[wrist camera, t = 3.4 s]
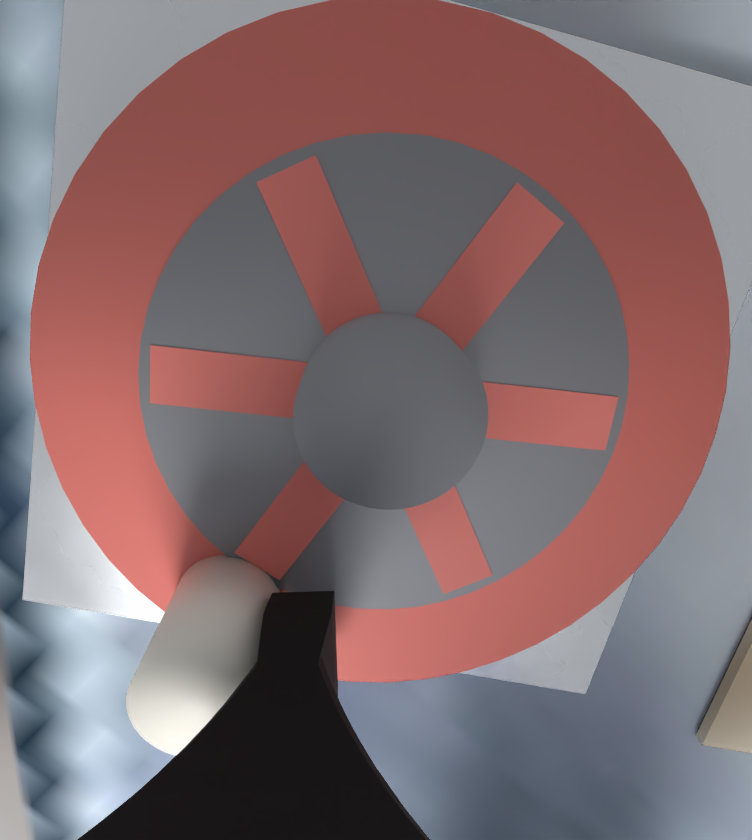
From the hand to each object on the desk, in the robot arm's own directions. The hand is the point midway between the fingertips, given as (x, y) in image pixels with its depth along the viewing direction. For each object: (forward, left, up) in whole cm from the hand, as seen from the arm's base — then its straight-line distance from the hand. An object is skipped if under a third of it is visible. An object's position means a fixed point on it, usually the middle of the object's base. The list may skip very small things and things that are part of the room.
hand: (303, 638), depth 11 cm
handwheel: (+5, 0, -3) cm, 5 cm away
